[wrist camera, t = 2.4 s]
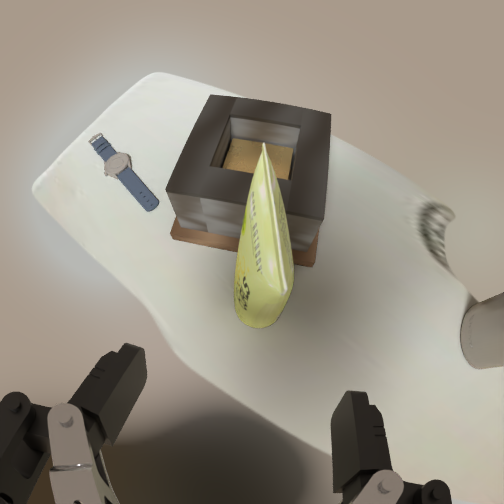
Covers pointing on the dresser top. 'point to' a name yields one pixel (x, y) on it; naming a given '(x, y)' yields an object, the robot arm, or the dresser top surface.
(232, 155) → the tan sandy square tile
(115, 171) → the wristwatch
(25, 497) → the robot arm
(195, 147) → the socket
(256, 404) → the dresser top surface
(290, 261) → the tube
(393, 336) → the dresser top surface
